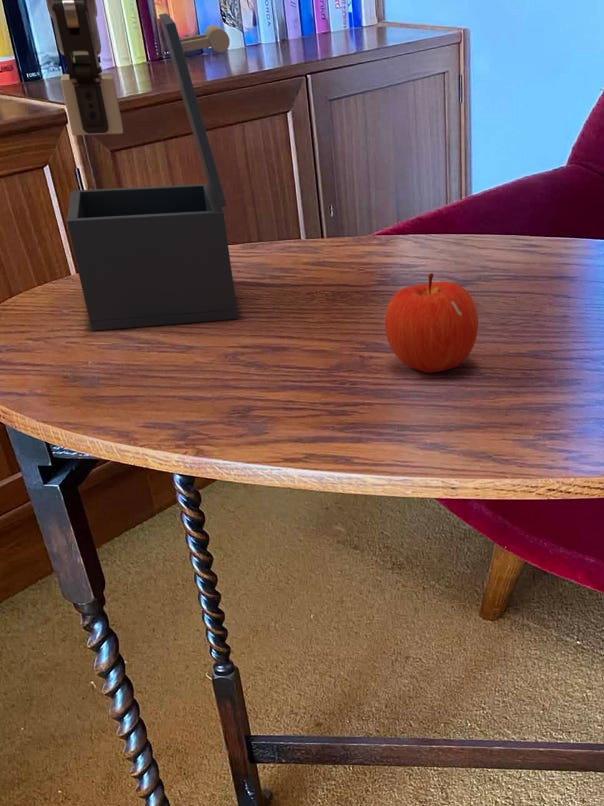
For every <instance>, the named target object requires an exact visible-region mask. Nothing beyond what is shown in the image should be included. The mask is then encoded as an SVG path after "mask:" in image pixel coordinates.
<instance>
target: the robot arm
mask: <svg viewBox="0 0 604 806" xmlns="http://www.w3.org/2000/svg"><path fill="white" fill-rule="evenodd" d="M45 3H46V8H47V12H48V14H49V16H50V18H52V22H53V27H54V33H55V37H56V43H57V48H58V50H59V52H60V54H61V55H62V56H64V59H65V65H66V67H65V72H66V74H68V76H69V80H70V81H71V82H72V85H78V86H74V89H75V94H76V98H77V103H78V108H79V113H80V118H81V122H82V127H83V130H84V131H85V132H86V133H106V132H107V131H108V121H107V116H106V111H105V106H104V101H103V95H102V90H101V85H98V84H101V80H102V76H101V73H103V68H102V66H101V63H102V61H101V56H99V55H100V54H101V52H102V43H101V36H100V31H99V26H98V22H97V17H98V7H97V0H45ZM95 83H96V84H95Z"/></svg>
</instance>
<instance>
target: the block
mask: <svg viewBox="0 0 604 806" xmlns="http://www.w3.org/2000/svg"><path fill="white" fill-rule="evenodd" d="M101 76H102V80H101V84H98V85H101V90H102V95H103V101H104V106H105V111H106V116H107V121H108V131H107V132H106V133H86V132H85V131H84V130H83V127H82V122H81V118H80V113H79V108H78V103H77V98H76V94H75V89H74V86H78V85H72V82H71V81H70V80H69V76H68V74H67V73H64V74H63V73H62V74H61V77H60V85H61V89H62V93H63V98H64V104H65V107H66V113H67V117H68V121H69V122H68V123H69V126H70V131H71V135H72V136H97V135H122V134H124V126H123V121H122V113H121V109H120V105H119V99H118V94H117V88H116V84H115V77H114V73H113V72H102V73H101ZM95 84H96V83H95Z"/></svg>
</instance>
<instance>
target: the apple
mask: <svg viewBox="0 0 604 806" xmlns="http://www.w3.org/2000/svg"><path fill="white" fill-rule="evenodd" d="M427 278H428V282H427V283H420V284H416V285H410V286H406V287H403V288H401V289H400V290H398V291H397V292H395V294H394V295H393V297H392V298H391V299H390V301H389V303H388V305H387V308H386V311H385V317H384V329H385V335H386V339H387V342H388V345H389V347H390V349H391V351H392V352H393V354H394V355H395V356H396V357H397V359H398V360H399V361H400V362H401V363H403V364H404V365H406V366H407V367H409V368H412V369H413V370H418V371H421V372H422V373H423V372H424V373H427V374H432V373H433V374H434V373H438V372H445V371H447V370H451V369H454V368H457V367H458V366H459V365H461V364H462V363H463V362H465V360H466V359H467V358H468V357H469V355H470V354H471V352H472V350H473V348H474V346H475V344H476V340H477V337H478V332H479V315H478V314H479V313H478V311H477V307H476V304H475V302H474V300H473V298H472V296H471V295H470V293H469V292H468V291H467V290H466V289H465V288H464V287H463V286H461V285H460V284H458V283H455V282H451V281H435V282H433V278H434V272H433V273H432V272H431V273H429V274H428V277H427Z"/></svg>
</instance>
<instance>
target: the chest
mask: <svg viewBox="0 0 604 806" xmlns="http://www.w3.org/2000/svg"><path fill="white" fill-rule="evenodd" d="M66 224H67V228H68V232H69V233H68V234H69V237H70V241H71V246H72V250H73V255H74V260H75V264H76V268H77V272H78V277H79V281H80V285H81V290H82V294H83V299H84V303H85V307H86V312H87V316H88V321H89V326H90V329H91V331H92V332H97V331H108V330H110V331H111V330H121V329H130V328H133V329H134V328H141V327H142V328H143V327H156V326H168V325H169V326H170V325H179V324H190V323H191V324H192V323H204V322H215V321H227V320H238V319H239V315H238V308H237V300H236V294H235V287H234V278H233V270H232V263H231V256H230V249H229V241H228V235H227V228H226V220H225V213H224V210H223V207H220V208H219V207H218V205H217V203H216V200H215V198H214V196H213V193H212V191H211V188H210V186H209V184H208V183H200V184H180V185H179V184H178V185H159V186H158V185H157V186H156V185H155V186H137V187H117V188H98V189H97V188H96V189H95V188H93V189H77V190H71V191H70V197H69V205H68V212H67V218H66Z"/></svg>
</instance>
